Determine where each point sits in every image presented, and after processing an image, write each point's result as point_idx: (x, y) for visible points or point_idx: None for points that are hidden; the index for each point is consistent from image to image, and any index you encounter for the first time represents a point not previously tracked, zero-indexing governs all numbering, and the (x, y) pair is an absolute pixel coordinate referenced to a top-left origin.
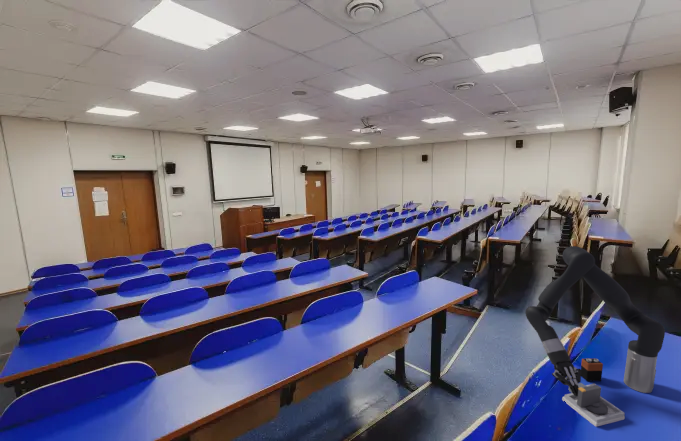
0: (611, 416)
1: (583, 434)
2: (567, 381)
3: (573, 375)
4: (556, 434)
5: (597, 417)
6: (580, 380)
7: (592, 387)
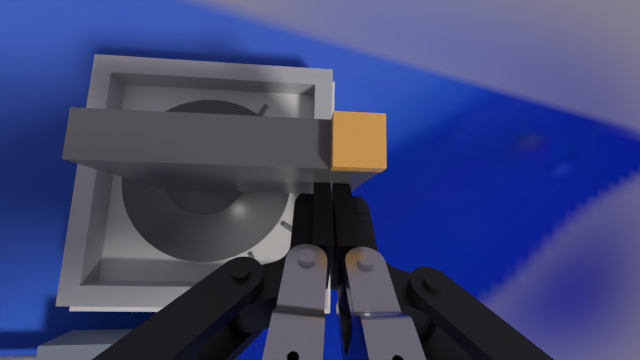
0: (213, 63)
1: (440, 78)
2: (440, 299)
3: (299, 351)
4: (570, 117)
5: (313, 80)
6: (212, 274)
7: (177, 143)
